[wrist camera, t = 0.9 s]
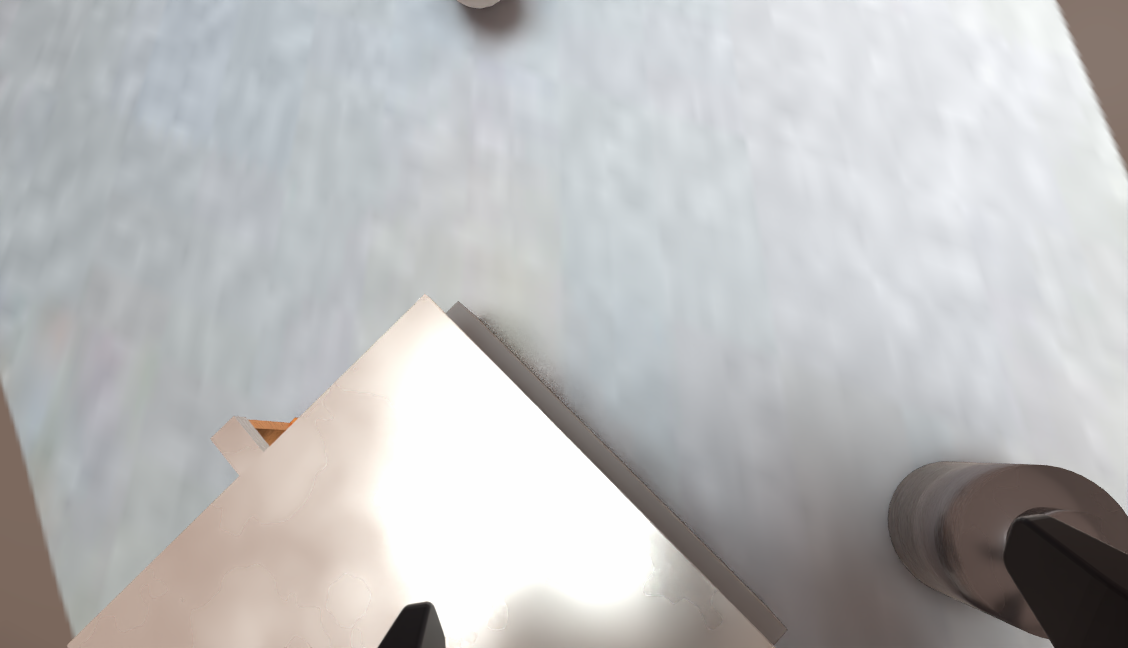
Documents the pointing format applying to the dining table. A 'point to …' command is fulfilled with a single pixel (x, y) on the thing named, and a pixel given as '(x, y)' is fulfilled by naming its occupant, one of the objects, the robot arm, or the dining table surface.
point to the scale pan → (418, 526)
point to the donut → (478, 3)
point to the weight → (990, 527)
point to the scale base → (621, 476)
